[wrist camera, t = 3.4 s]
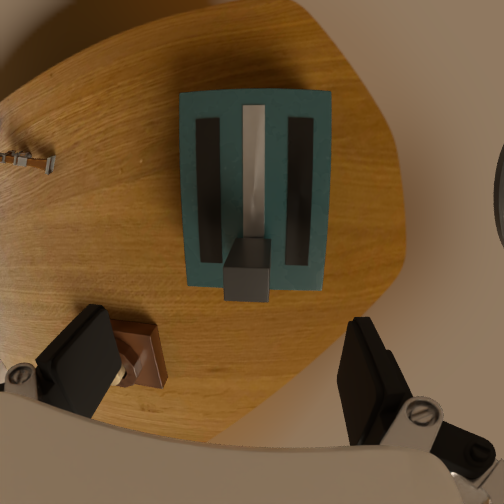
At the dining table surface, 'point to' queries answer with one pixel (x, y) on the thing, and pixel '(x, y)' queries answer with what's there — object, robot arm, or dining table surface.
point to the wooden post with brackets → (28, 160)
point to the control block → (140, 354)
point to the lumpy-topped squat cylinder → (2, 372)
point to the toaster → (256, 180)
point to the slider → (248, 270)
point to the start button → (119, 375)
